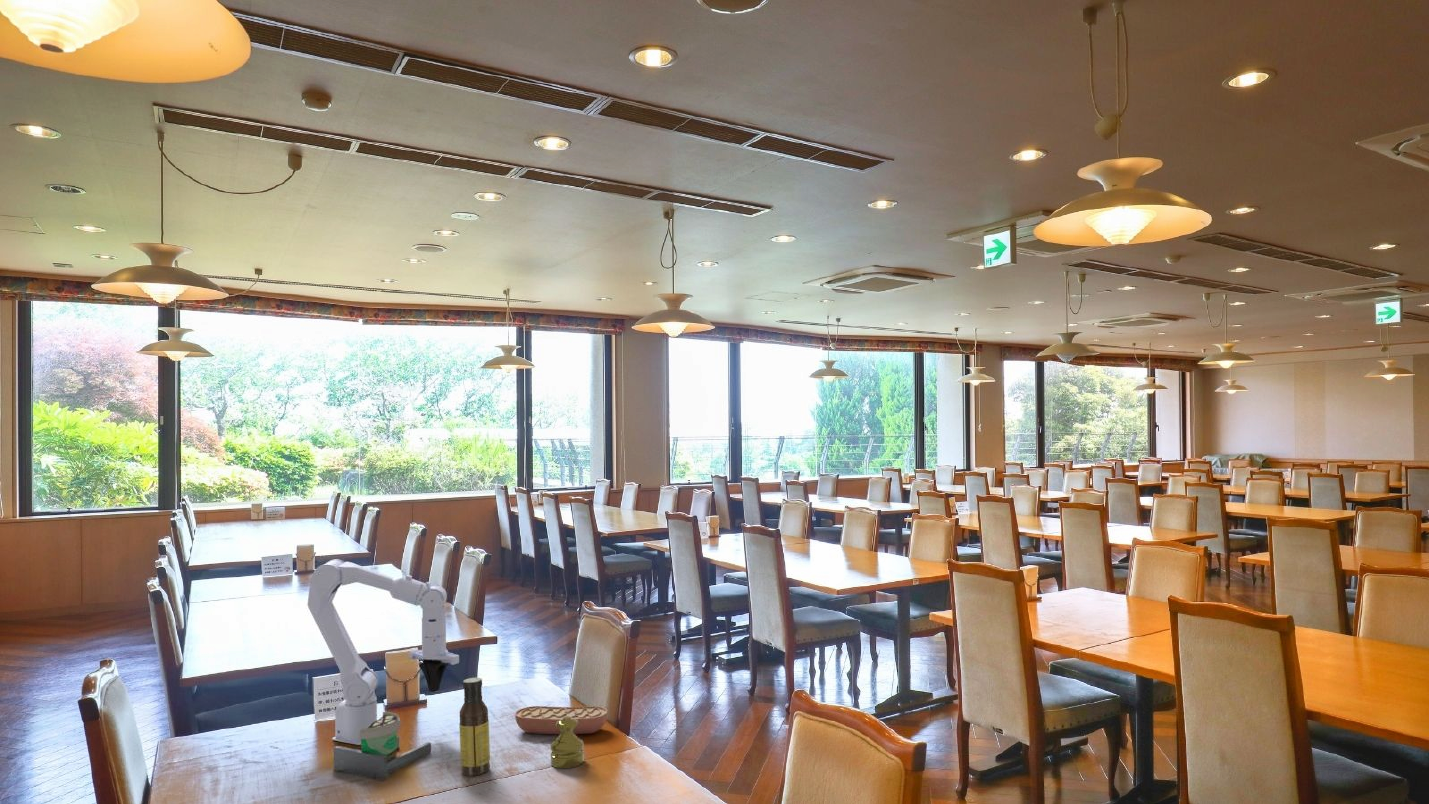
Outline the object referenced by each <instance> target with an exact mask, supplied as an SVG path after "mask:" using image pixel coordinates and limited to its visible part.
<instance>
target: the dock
mask: <svg viewBox="0 0 1429 804" xmlns="http://www.w3.org/2000/svg"><path fill="white" fill-rule="evenodd" d="M399 748H400V737H399V736H397V749H399ZM429 754H430V755H431V754H432V743H431V742H429V741H427V742H426V743H423V744H422V745H418V746H416V747H414V748H412V749H410V750H408V751H405V752H403V753H401V754H399V755H396V757H394V758H392V759H390V760H388V761H387V756H386V755H381V754H376V753H371V752H366V751H362V750H360V749H356V748H352V747H351V748H349V747H345V746H341V745H340V746H339V745H336V746H333V771H335V772H340V773H345V774H350V775H353V776H358V777H363V778H367V779H368V778H369V779H373V780H377V781H382V782H385V781H387V780H388V775H390V774H391V773H393V772H396V771H398V770H400V769H402V768H404V767H406V766H408V765H411V764H412V763H414V762H417V761H419V760H422V759H423V758H425V757H428V756H430V755H429ZM427 755H428V756H427Z"/></svg>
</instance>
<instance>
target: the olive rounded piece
mask: <svg viewBox="0 0 1429 804" xmlns="http://www.w3.org/2000/svg"><path fill="white" fill-rule="evenodd" d="M577 725H578V721H577V720H576V719H574V718H571V717H563V718H562V719H560V720H558V721H557V722H556V727H558V728H559V729H560V730H561V734H560V735H559V734H558V735H557V737H556V739H554V740H552V742H550V751H551V753H550V764H551V766H553V768H556V769H571V768H576V767H579V766H580V765H582V763H584V760H585V759H584V756H585V754H584V753H585V751H584V750H583V748H584V745H585V743H584V742H585V741H584V740H583V739H582V738H580V737H578V734H574V733H573V729H574V728H575V727H576V726H577Z"/></svg>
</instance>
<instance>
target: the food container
mask: <svg viewBox="0 0 1429 804" xmlns="http://www.w3.org/2000/svg"><path fill="white" fill-rule="evenodd" d="M401 728H402V723H401V719H400V717H399V715H398V714H397V713H395V712H389V711H383V712H382V716H381V717H380V718H379V719H377V721H375V722H373V723H372V724H371V725H370V726H369V727H368V728H367V729H361V732H360V739H361V745H360V746H361V751H366V752H371V753H376V754H381V755H386V756H387V761H388V760H390V759H392V758H394V757H397V749H398V748H397V737H399V736H398V734H399V730H400V729H401Z"/></svg>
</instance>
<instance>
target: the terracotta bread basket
mask: <svg viewBox="0 0 1429 804" xmlns="http://www.w3.org/2000/svg"><path fill="white" fill-rule="evenodd" d="M514 717H515V721H516V724H517V726H518V727H519V729H521V730H522V731H523V732H525V733H529V734H536V735H537V734H540V735H558V736H559V735H560V734H561V730H560V729H559V728H558V727H556V722H557V721H558V720H560V719H562V718H563V717H571V718H574V719H576V720H577V721H578V725H577V726H576V727H575V728H574V729H573V733H574V734H575V735H587V734H589V735H590V734H593V733H596V732H598V731H599V730H601V728H603V727H604V725H605V723H606V722H607V719H608V709H606V708H605V707H601V706H542V705H532V706H526V707H523V708H520V709H518V710H517V711H516V712H515V715H514Z"/></svg>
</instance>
